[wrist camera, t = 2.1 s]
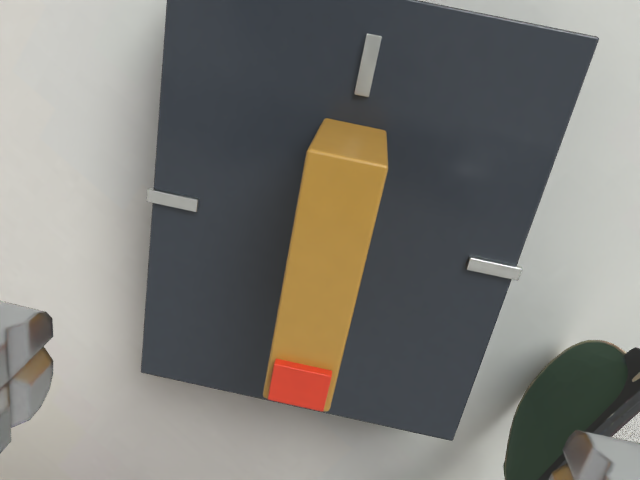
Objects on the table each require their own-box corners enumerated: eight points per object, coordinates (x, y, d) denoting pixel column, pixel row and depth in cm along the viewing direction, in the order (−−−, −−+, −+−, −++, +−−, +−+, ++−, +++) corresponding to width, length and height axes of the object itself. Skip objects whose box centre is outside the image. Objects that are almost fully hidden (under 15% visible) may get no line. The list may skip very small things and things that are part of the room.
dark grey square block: (203, -40, 15) (162, -52, 13) (564, 33, 15) (607, 38, 12) (170, 323, 20) (135, 375, 17) (445, 382, 20) (456, 446, 17)
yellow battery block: (324, 117, 14) (304, 151, 10) (387, 130, 14) (389, 169, 10) (285, 321, 16) (259, 405, 13) (339, 333, 16) (328, 420, 13)
